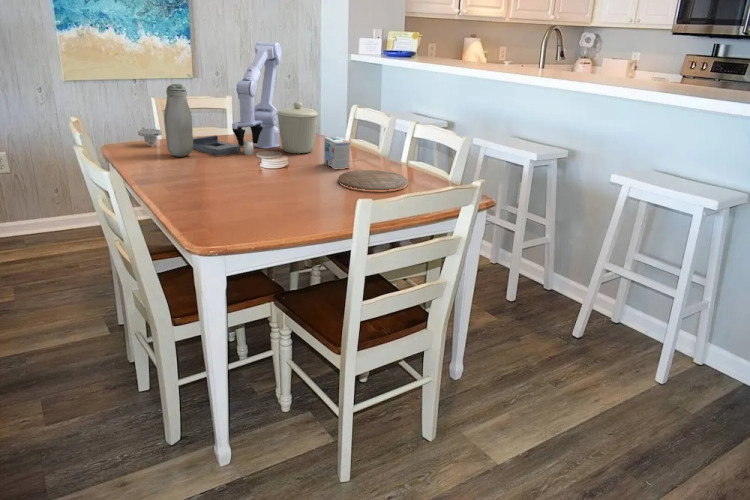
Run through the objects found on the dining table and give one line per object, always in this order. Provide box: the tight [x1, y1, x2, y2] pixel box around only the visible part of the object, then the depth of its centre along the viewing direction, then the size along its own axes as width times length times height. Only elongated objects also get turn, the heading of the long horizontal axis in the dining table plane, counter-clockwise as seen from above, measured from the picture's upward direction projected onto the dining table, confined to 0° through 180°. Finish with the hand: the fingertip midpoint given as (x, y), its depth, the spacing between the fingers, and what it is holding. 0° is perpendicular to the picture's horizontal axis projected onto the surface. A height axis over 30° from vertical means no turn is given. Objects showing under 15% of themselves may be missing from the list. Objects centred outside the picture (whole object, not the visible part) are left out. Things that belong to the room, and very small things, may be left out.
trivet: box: [337, 169, 409, 190], centre depth 207 cm, size 25×25×2 cm
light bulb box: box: [323, 136, 351, 168], centre depth 226 cm, size 11×7×11 cm, turn 27°
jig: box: [192, 134, 242, 157], centre depth 243 cm, size 12×16×4 cm
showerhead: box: [137, 126, 163, 147], centre depth 244 cm, size 9×7×10 cm
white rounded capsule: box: [242, 140, 254, 156], centre depth 240 cm, size 4×4×5 cm
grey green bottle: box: [163, 83, 194, 158], centre depth 226 cm, size 10×10×28 cm
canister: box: [276, 101, 320, 155], centre depth 246 cm, size 18×18×21 cm
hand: (248, 144), depth 239 cm, fingers open, 7 cm apart
